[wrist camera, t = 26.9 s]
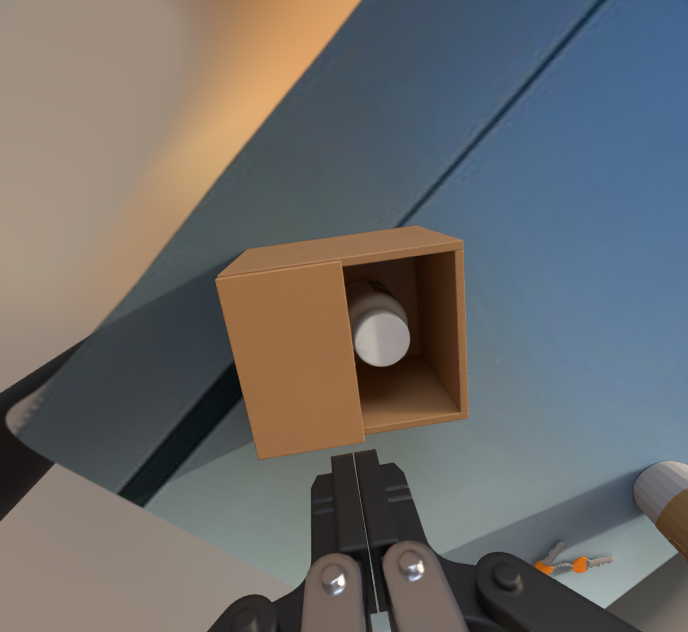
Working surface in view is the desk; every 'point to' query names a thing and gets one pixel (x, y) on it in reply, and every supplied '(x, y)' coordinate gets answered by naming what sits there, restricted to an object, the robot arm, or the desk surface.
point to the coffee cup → (666, 501)
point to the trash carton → (421, 310)
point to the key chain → (577, 566)
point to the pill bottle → (376, 323)
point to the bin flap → (294, 357)
